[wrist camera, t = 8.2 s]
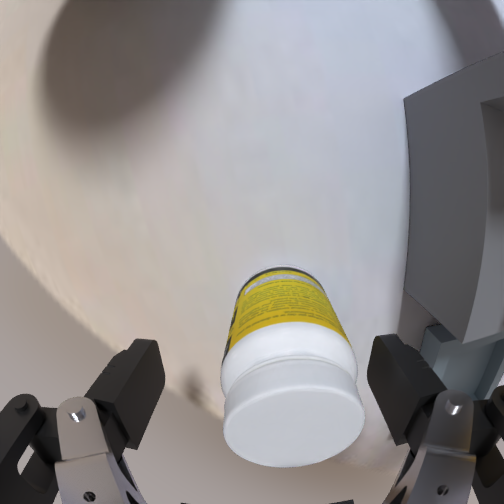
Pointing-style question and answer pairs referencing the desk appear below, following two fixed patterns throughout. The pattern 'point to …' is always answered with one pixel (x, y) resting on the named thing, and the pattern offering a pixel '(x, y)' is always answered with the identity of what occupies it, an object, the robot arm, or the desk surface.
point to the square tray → (465, 361)
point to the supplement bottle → (288, 373)
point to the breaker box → (458, 199)
